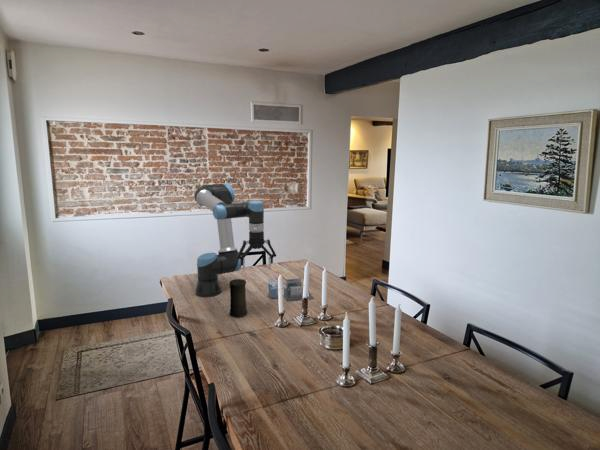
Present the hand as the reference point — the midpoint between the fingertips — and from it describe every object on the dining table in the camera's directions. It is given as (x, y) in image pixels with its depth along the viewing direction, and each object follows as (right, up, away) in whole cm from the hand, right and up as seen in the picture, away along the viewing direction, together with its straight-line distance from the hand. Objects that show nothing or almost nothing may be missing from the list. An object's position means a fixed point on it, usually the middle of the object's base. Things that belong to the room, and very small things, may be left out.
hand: (257, 270), depth 206 cm
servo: (+7, -18, +24) cm, 31 cm away
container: (-9, -23, -1) cm, 25 cm away
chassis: (+20, -17, +28) cm, 38 cm away
